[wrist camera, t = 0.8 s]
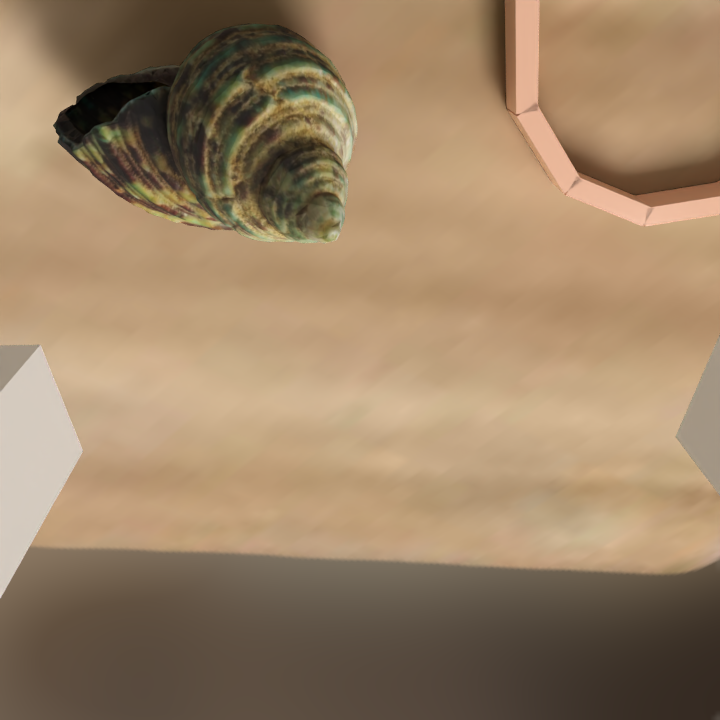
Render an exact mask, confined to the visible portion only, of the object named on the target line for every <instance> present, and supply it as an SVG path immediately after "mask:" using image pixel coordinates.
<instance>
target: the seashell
mask: <svg viewBox="0 0 720 720" xmlns="http://www.w3.org/2000/svg"><path fill="white" fill-rule="evenodd" d="M53 126H54V128H55V129H56V133H57V134H58V135H59V140H58V143H59V144H60V145H61V146H62V147H63V148H64V149H66V150H67V151H68V152H69V153H70V154H71V155H72V156H73V157H74V158H75V159H76V160H77V161H78V162H79V163H81V164H82V165H83V166H84V167H86V168H87V169H88V170H90V172H91V173H92V175H93V176H94V177H96V178H97V179H98V180H99V181H101V182H102V183H103V184H105V185H106V186H107V187H108V188H110V189H111V190H112V191H113V192H114V193H115V194H117V195H118V196H120V197H122V198H123V199H125V200H126V201H128V202H130V203H131V204H133V205H135V206H138V207H140V208H142V209H144V210H145V211H146V212H148V213H150V214H152V215H156V216H160V217H163V218H166V219H168V220H171V221H173V222H175V223H184V224H187V225H190V226H197V227H205V228H208V229H211V230H235V231H237V232H238V233H239V234H240V235H243V236H245V237H248V238H250V239H253V240H259V241H265V242H276V241H279V242H293V241H297V242H300V243H313V242H321V243H328V242H332V241H335V240H337V238H338V236H339V234H340V231H341V228H342V225H343V222H344V219H345V210H344V207H345V204H346V200H347V193H348V178H347V174H346V170H347V167H348V165H349V163H350V160H351V155H352V153H353V151H354V148H355V144H356V139H357V121H356V112H355V107H354V105H353V102H352V99H351V97H350V95H349V93H348V91H347V89H346V87H345V84H344V82H343V80H342V78H341V76H340V75H339V73H338V71H337V69H336V68H335V66H334V65H333V63H332V62H331V60H329V59H328V58H327V57H326V56H325V55H324V54H322V53H321V52H320V51H319V50H317V49H316V48H315V47H314V46H313V45H312V44H311V43H310V42H309V41H307V40H306V39H305V38H303V37H302V36H300V35H299V34H297V33H294V32H293V31H291V30H289V29H287V28H284V27H282V26H279V25H264V24H244V25H238V26H234V27H229V28H225V29H222V30H220V31H217V32H215V33H213V34H211V35H209V36H208V37H206V38H205V39H203V40H202V41H200V42H199V43H198V44H197V45H196V46H195V47H194V48H193V49H192V51H191V52H190V53H189V55H188V56H187V58H186V59H185V60H184V62H183V63H182V64H181V66H176V65H169V66H161V67H158V68H157V67H149V68H146V69H144V70H142V71H139V72H137V73H135V74H130V75H119V76H116V77H113V78H110V79H108V80H107V81H106V82H105V83H97V84H95V85H94V86H92V87H90V88H89V89H87V90H85V91H84V92H83V93H82V94H81V95H79V96H77V100H76V104H75V105H71V106H70V107H68V108H66V109H65V110H63V111H61V112H60V114H59V116H58V119H57V121H56V122H55V124H54V125H53Z"/></svg>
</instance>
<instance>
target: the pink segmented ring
mask: <svg viewBox="0 0 720 720" xmlns="http://www.w3.org/2000/svg"><path fill="white" fill-rule="evenodd" d="M505 51H506V107H507V108H508V109H507V110H508V112H509V114H510V115H511V117H512V118H513V120H514V122H515V123H516V125H517V127H518V128H519V130H520V131H521V133H522V135H523V136H524V138H525V140H526V141H527V143H528V144H529V146H530V148H531V149H532V151H533V152H534V154H535V156H536V157H537V159H538V161H539V162H540V164H541V165H542V167H543V169H544V170H545V172H546V173H547V175H548V177H549V178H550V180H551V182H552V183H553V184H554V185H555V186H556V187H557V188H558V189H559V190H561V191H562V192H563V193H564V194H565V195H567V196H569V197H571V198H574V199H576V200H579V201H581V202H584V203H586V204H589V205H591V206H594V207H596V208H599V209H601V210H604V211H606V212H609V213H611V214H613V215H616V216H618V217H621V218H623V219H626V220H628V221H631V222H633V223H636V224H638V225H641V226H651V225H657V224H664V223H670V222H676V221H683V220H689V219H695V218H702V217H708V216H714V215H720V180H719V181H718V182H716V183H709V184H703V185H697V186H691V187H685V188H679V189H672V190H666V191H660V192H654V193H648V194H642V195H636V196H634V195H632V194H629V193H627V192H625V191H622V190H620V189H617V188H615V187H613V186H610V185H608V184H605V183H603V182H601V181H598V180H596V179H593V178H591V177H589V176H586V175H584V174H581V173H579V172H577V171H576V170H575V168H574V166H573V165H572V163H571V161H570V160H569V158H568V156H567V154H566V153H565V151H564V149H563V148H562V146H561V144H560V143H559V141H558V139H557V137H556V136H555V134H554V132H553V131H552V129H551V127H550V125H549V124H548V122H547V120H546V119H545V117H544V115H543V114H542V112H541V110H540V108H539V107H538V64H539V0H505Z"/></svg>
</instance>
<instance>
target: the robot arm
mask: <svg viewBox="0 0 720 720" xmlns="http://www.w3.org/2000/svg"><path fill="white" fill-rule="evenodd" d="M676 438H677V439H678V441H679V442H680V443H681V445H682V446H683V447H684V449H685V450H686V451H687V453H688V454H689V455H690V457H691V458H692V459H693V461H694V462H695V463H696V465H697V466H698V467H699V469H700V470H701V471H702V473H703V474H704V475H705V477H706V478H707V479H708V481H709V482H710V483H711V485H712V486H713V487H714V489H715V490H716V491H717V493H718V494H719V495H720V335H719V337H718V340H717V342H716V344H715V347H714V349H713V351H712V354H711V356H710V358H709V361H708V363H707V365H706V367H705V370H704V372H703V374H702V377H701V379H700V381H699V384H698V386H697V388H696V391H695V393H694V395H693V398H692V400H691V402H690V404H689V407H688V409H687V411H686V414H685V416H684V418H683V421H682V423H681V425H680V428H679V430H678V432H677V435H676ZM82 452H83V450H82V447H81V445H80V442H79V440H78V437H77V435H76V432H75V430H74V427H73V425H72V422H71V420H70V417H69V415H68V412H67V410H66V407H65V405H64V402H63V400H62V397H61V395H60V392H59V390H58V387H57V385H56V382H55V380H54V377H53V375H52V372H51V370H50V367H49V365H48V362H47V360H46V357H45V355H44V352H43V350H42V347H41V345H5V346H0V598H1V596H2V594H3V593H4V591H5V589H6V587H7V585H8V584H9V582H10V580H11V578H12V577H13V575H14V573H15V571H16V569H17V568H18V566H19V564H20V562H21V560H22V559H23V557H24V555H25V553H26V552H27V550H28V548H29V546H30V545H31V543H32V541H33V539H34V537H35V536H36V534H37V532H38V530H39V529H40V527H41V525H42V523H43V521H44V520H45V518H46V516H47V514H48V513H49V511H50V509H51V507H52V505H53V504H54V502H55V500H56V498H57V496H58V495H59V493H60V491H61V489H62V488H63V486H64V484H65V482H66V480H67V479H68V477H69V475H70V473H71V472H72V470H73V468H74V466H75V464H76V463H77V461H78V459H79V457H80V456H81V454H82Z"/></svg>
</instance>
